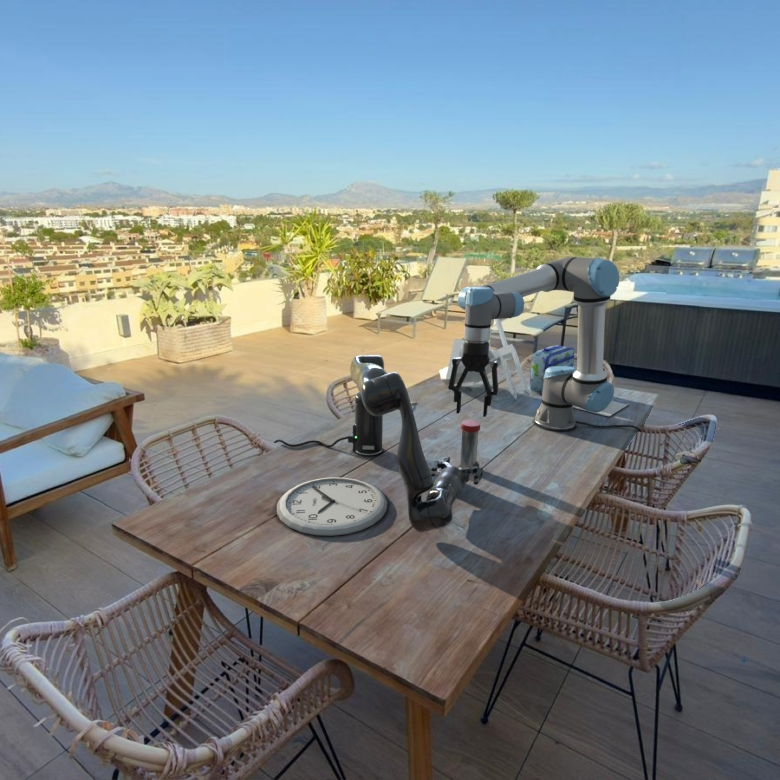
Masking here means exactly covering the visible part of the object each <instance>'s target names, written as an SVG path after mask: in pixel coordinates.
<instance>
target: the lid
mask: <svg viewBox="0 0 780 780" xmlns="http://www.w3.org/2000/svg"><path fill="white" fill-rule="evenodd" d="M460 425H461V427H460V429H461V430H464V431H466V432H478V433H479V432H480V430H481V422H479V421H478V420H474V419H465V420H462V421H461V423H460Z"/></svg>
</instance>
